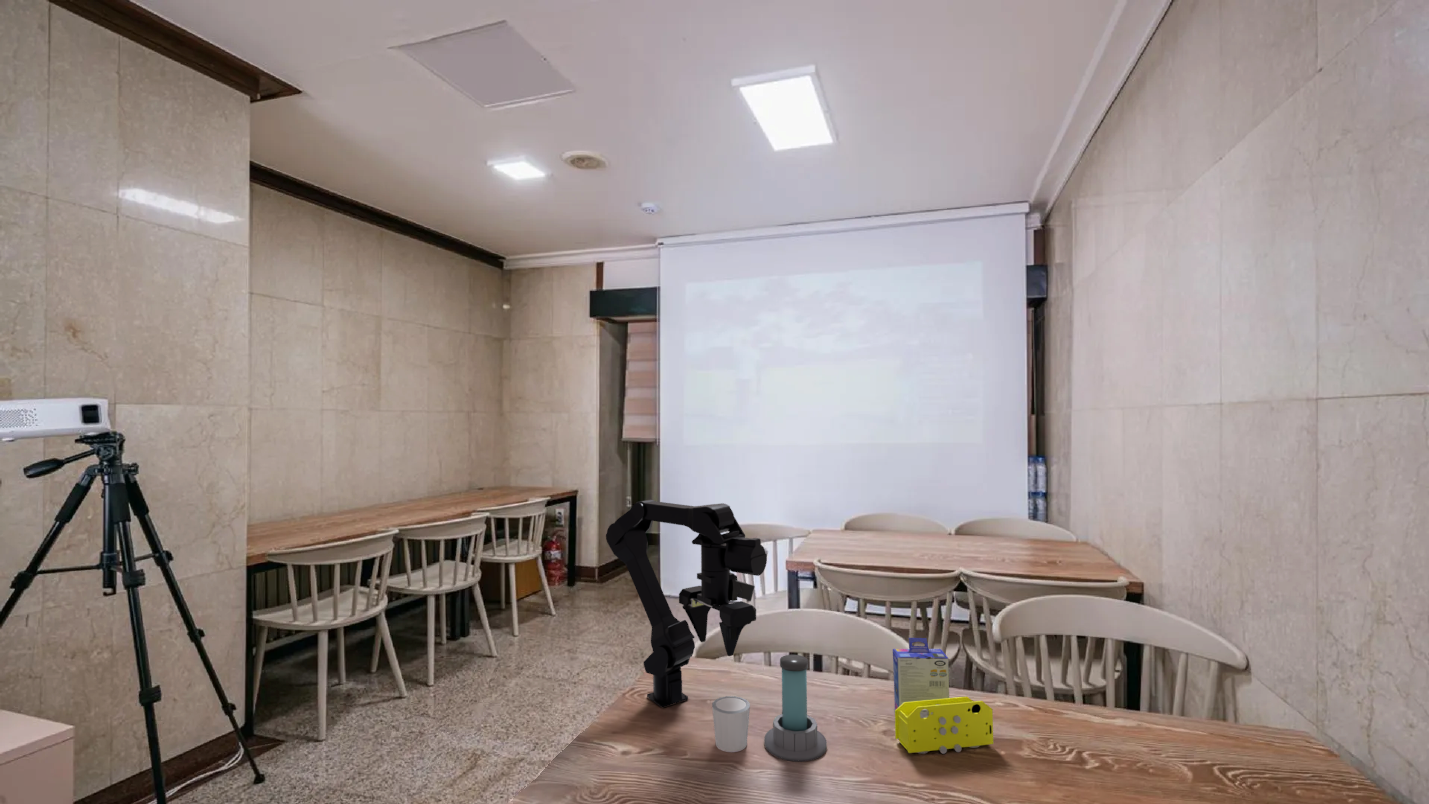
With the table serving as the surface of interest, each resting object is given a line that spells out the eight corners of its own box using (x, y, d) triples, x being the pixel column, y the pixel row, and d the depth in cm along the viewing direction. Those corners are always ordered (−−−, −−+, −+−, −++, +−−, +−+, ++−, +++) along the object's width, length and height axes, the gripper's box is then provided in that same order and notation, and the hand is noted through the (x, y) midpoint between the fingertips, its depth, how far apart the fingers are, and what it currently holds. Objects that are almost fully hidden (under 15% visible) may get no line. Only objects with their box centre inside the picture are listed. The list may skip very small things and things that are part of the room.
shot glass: (747, 756, 104) (747, 714, 104) (708, 752, 105) (708, 711, 105) (752, 735, 111) (752, 696, 111) (716, 732, 112) (715, 693, 112)
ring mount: (751, 741, 109) (751, 719, 109) (796, 722, 115) (796, 702, 115) (794, 769, 100) (793, 745, 100) (839, 747, 106) (839, 725, 106)
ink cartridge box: (943, 710, 120) (941, 636, 120) (952, 723, 114) (950, 646, 115) (892, 708, 121) (891, 635, 121) (899, 722, 115) (897, 645, 116)
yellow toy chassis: (910, 759, 103) (909, 709, 103) (894, 742, 108) (893, 695, 109) (995, 750, 105) (994, 701, 106) (975, 733, 111) (974, 687, 111)
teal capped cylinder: (775, 735, 109) (775, 657, 109) (800, 730, 111) (799, 653, 111) (789, 749, 104) (788, 667, 105) (814, 743, 106) (813, 662, 107)
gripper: (777, 571, 116) (778, 653, 116) (720, 555, 132) (721, 627, 131) (731, 580, 110) (732, 667, 109) (677, 562, 125) (677, 638, 124)
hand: (716, 648), depth 119 cm, fingers open, 9 cm apart
